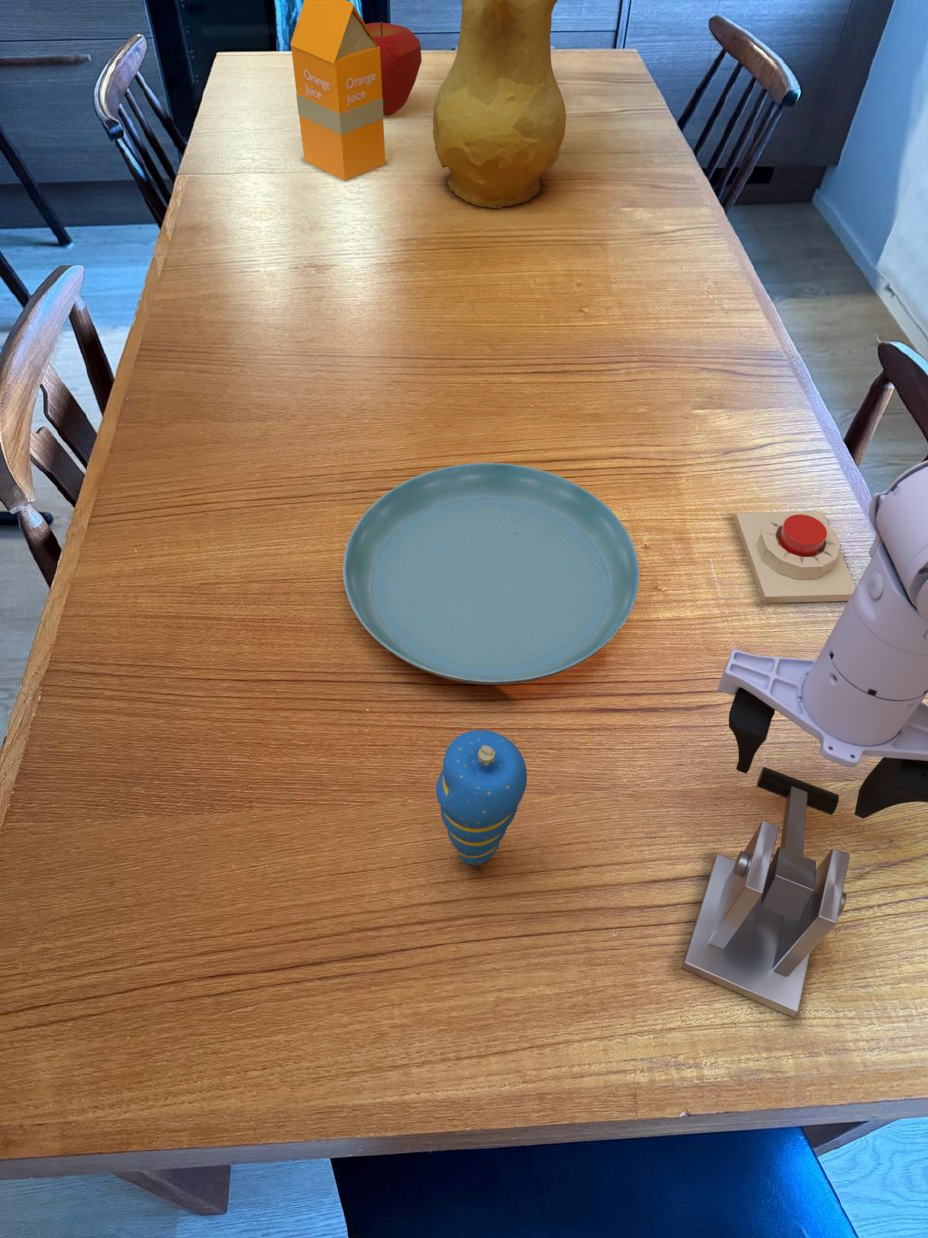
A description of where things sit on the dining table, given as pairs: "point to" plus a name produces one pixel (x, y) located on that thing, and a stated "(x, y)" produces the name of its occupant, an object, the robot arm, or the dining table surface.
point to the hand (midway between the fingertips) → (802, 782)
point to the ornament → (480, 792)
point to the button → (802, 535)
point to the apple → (396, 63)
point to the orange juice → (338, 89)
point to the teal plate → (491, 573)
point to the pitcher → (500, 103)
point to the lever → (793, 844)
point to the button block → (792, 562)
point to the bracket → (761, 926)
